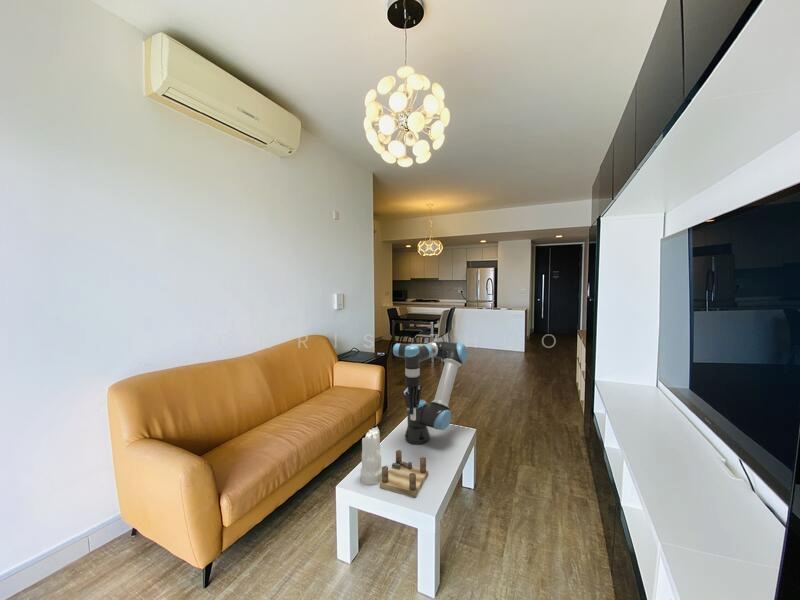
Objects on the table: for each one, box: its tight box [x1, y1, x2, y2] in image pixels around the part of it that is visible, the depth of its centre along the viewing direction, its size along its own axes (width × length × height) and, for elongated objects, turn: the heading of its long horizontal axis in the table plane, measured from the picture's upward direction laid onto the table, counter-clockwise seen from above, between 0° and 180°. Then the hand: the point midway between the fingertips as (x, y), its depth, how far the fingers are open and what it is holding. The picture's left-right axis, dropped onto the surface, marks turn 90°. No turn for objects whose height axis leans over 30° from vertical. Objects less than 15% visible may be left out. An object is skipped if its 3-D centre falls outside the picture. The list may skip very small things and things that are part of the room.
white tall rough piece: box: [360, 426, 383, 486], centre depth 155 cm, size 11×11×25 cm
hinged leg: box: [395, 449, 413, 469], centre depth 161 cm, size 10×3×6 cm, turn 54°
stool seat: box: [379, 456, 429, 498], centre depth 153 cm, size 18×18×9 cm
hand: (413, 419), depth 166 cm, fingers closed
